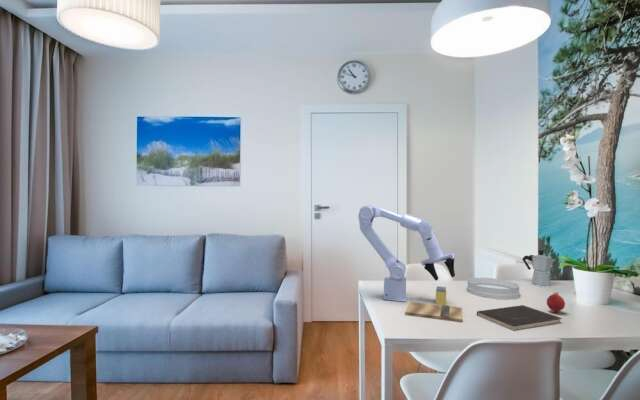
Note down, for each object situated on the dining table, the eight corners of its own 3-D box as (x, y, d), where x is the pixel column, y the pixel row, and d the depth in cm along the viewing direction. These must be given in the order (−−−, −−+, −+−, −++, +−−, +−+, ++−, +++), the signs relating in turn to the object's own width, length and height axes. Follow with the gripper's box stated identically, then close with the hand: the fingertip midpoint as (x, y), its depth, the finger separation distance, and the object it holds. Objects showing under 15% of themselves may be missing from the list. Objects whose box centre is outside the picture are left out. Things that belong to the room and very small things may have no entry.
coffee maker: (557, 285, 175) (557, 250, 175) (554, 288, 169) (554, 252, 169) (524, 280, 186) (524, 247, 186) (520, 283, 179) (520, 249, 179)
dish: (528, 295, 157) (529, 284, 157) (504, 303, 145) (504, 291, 145) (482, 285, 176) (483, 275, 176) (457, 291, 163) (457, 281, 163)
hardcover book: (561, 324, 121) (561, 317, 121) (513, 332, 114) (513, 325, 113) (521, 310, 136) (521, 304, 136) (476, 316, 129) (476, 310, 129)
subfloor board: (405, 314, 128) (405, 311, 128) (409, 304, 141) (409, 301, 141) (462, 322, 121) (462, 318, 121) (461, 310, 134) (461, 307, 134)
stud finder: (435, 304, 142) (435, 290, 142) (436, 299, 148) (436, 286, 148) (445, 305, 140) (446, 291, 140) (446, 300, 147) (446, 287, 147)
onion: (559, 315, 128) (559, 294, 128) (543, 311, 134) (543, 291, 134) (567, 313, 131) (568, 293, 131) (551, 309, 136) (552, 289, 136)
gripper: (451, 241, 143) (464, 271, 142) (421, 249, 153) (433, 278, 151) (445, 245, 138) (458, 277, 136) (414, 253, 147) (426, 283, 146)
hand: (445, 278), depth 143 cm, fingers open, 7 cm apart
